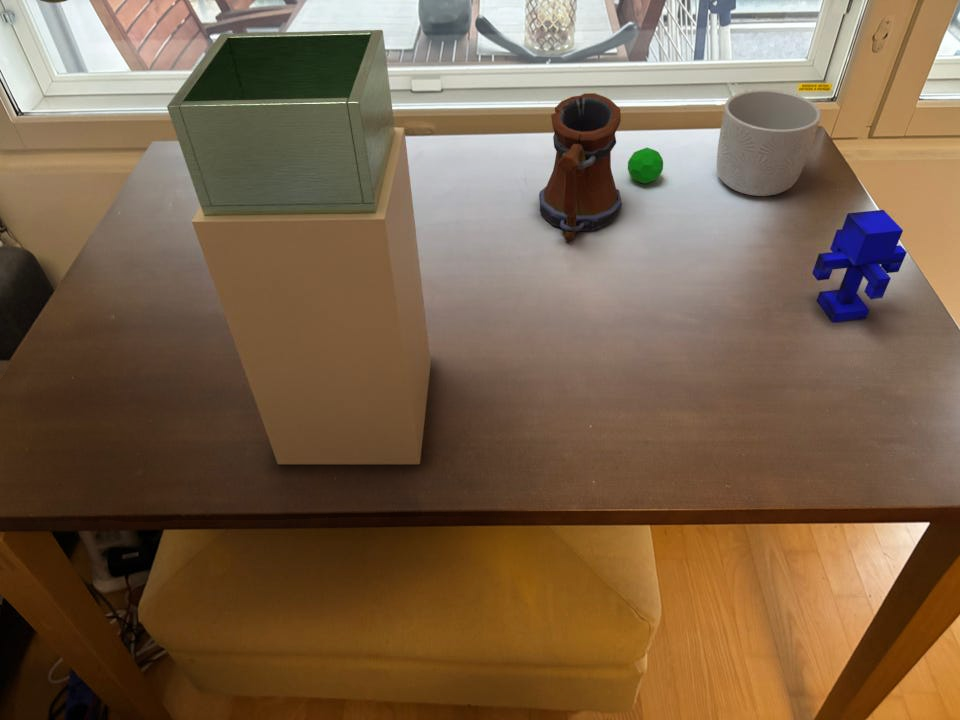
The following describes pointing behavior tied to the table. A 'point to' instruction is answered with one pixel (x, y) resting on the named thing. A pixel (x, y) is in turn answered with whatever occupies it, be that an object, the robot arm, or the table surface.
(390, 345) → the bin
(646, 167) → the polyhedron
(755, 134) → the planter
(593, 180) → the mug
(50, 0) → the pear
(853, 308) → the figurine
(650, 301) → the table surface
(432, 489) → the table surface
